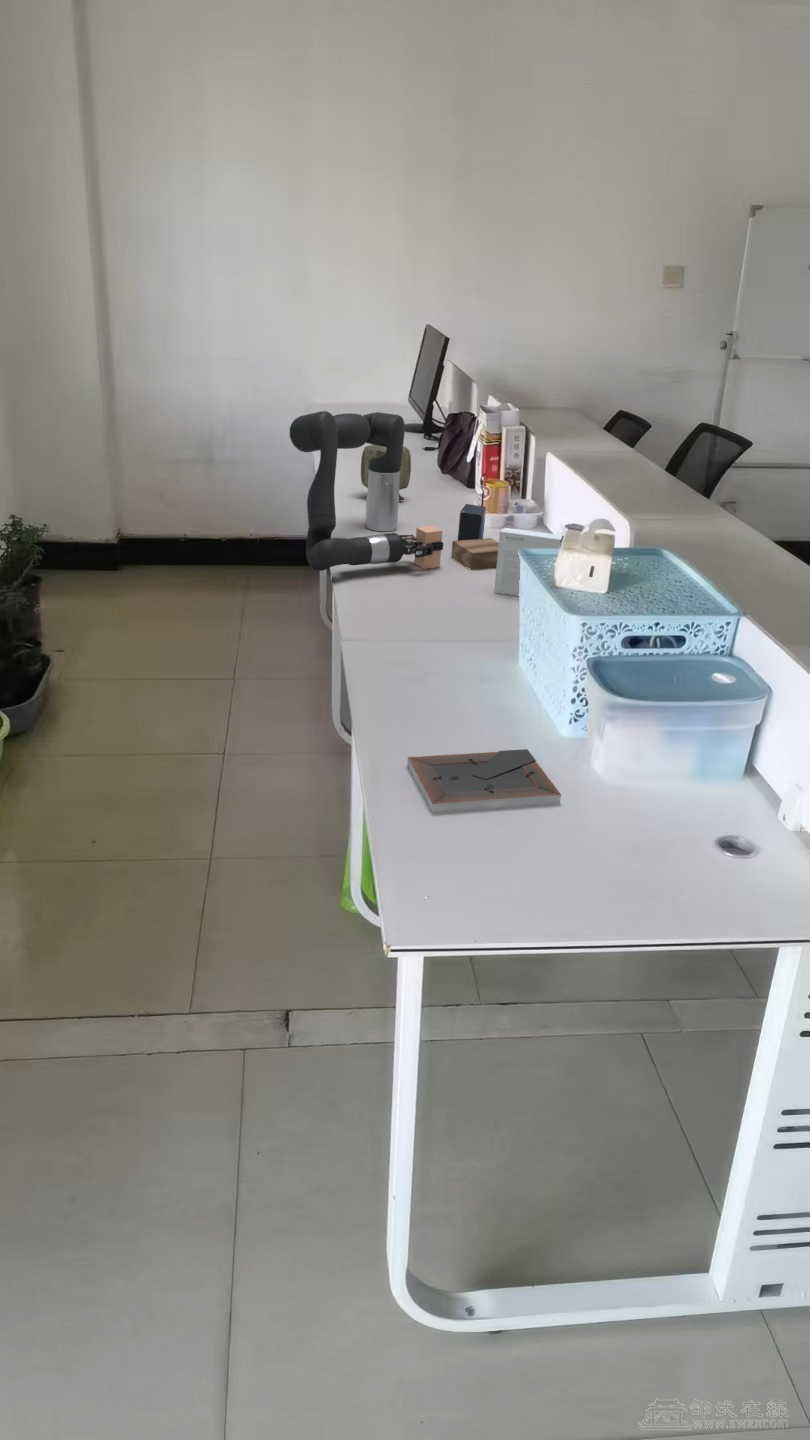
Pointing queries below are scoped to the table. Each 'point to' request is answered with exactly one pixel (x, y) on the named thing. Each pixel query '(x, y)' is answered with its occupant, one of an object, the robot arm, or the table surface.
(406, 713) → the table surface
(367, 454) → the tabletop clock
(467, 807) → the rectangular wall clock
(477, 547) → the walnut block
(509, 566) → the skincare box
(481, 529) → the small box
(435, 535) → the terracotta pillar
